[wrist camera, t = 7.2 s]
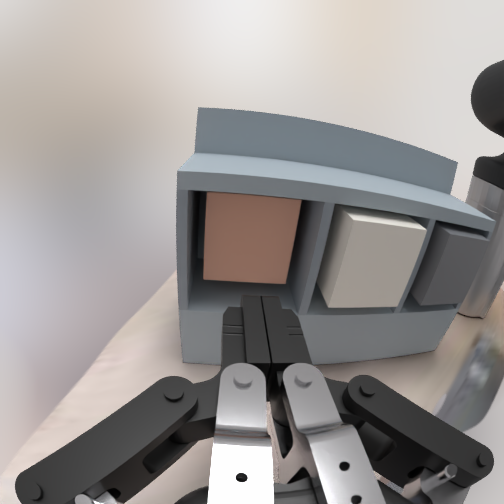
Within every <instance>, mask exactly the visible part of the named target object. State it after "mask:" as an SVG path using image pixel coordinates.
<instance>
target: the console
mask: <svg viewBox="0 0 504 504" xmlns="http://www.w3.org/2000/svg"><path fill="white" fill-rule="evenodd" d="M457 164H458V162H456V161H453V160H450V159H448V158H446V157H443V156H440V155H438V154H435V153H432V152H430V151H427V150H424V149H421V148H418V147H415V146H412V145H409V144H406V143H403V142H400V141H396V140H393V139H390V138H386V137H383V136H380V135H376V134H372V133H369V132H365V131H361V130H357V129H353V128H349V127H344V126H340V125H335V124H330V123H326V122H320V121H315V120H310V119H304V118H298V117H292V116H285V115H279V114H271V113H263V112H254V111H244V110H233V109H219V108H198V116H197V128H196V140H195V153H194V154H193V155H192V156H191V157H190V158H189V159H188V160H187V161H186V162H185V163H184V164H183V166H181V168H180V169H179V170H178V171H177V206H176V207H177V209H176V239H177V240H176V244H177V283H178V304H179V320H180V334H181V346H182V357H183V362H186V363H199V364H215V365H221V337H222V321H223V314H224V312H225V311H226V309H227V308H228V306H229V307H240V302H241V295H259V296H279V298H280V302H281V306H282V309H292V311H293V312H294V313H295V314H296V315H297V316H298V318H299V321H300V324H301V328H302V331H303V336H304V337H305V341H306V344H307V347H308V351H309V354H310V357H311V361H312V364H313V365H317V364H333V363H346V362H357V361H367V360H375V359H383V358H391V357H398V356H404V355H411V354H417V353H422V352H428V351H433V350H435V349H436V347H437V346H438V344H439V342H440V341H441V339H442V338H443V336H444V334H445V333H446V331H447V329H448V328H449V326H450V324H451V323H452V321H453V319H454V317H455V315H456V314H457V312H458V310H459V308H460V306H461V304H462V303H454V304H439V305H421V306H420V304H419V303H418V302H417V300H416V299H415V298H414V297H413V295H412V294H411V293H410V292H409V291H410V288H411V286H412V284H413V281H414V279H415V277H416V274H417V272H418V269H419V267H420V264H421V262H422V259H423V256H424V254H425V251H426V248H427V245H428V243H429V240H430V237H431V234H432V231H433V228H434V225H435V222H436V220H439V221H444V222H449V223H454V224H458V225H463V226H468V227H471V228H472V229H474V230H475V231H476V232H478V233H479V234H481V235H482V236H483V237H485V238H486V239H488V240H489V241H490V239H491V236H492V233H493V230H494V227H495V224H496V221H494V220H493V219H491V218H490V217H488V216H486V215H485V214H483V213H482V212H480V211H478V210H477V209H475V208H473V207H472V206H470V205H468V204H466V203H465V202H463V201H461V200H459V199H457V198H456V197H454V196H452V195H450V193H451V189H452V185H453V181H454V177H455V173H456V169H457ZM207 191H215V192H230V193H242V194H254V195H265V196H276V197H286V198H295V199H301V200H302V201H301V206H300V212H299V218H298V223H297V228H296V234H295V239H294V244H293V249H292V254H291V260H290V265H289V269H288V274H287V279H286V284H275V283H254V282H236V281H219V280H204V279H203V272H204V241H205V218H206V199H207ZM335 203H336V204H344V205H351V206H358V207H364V208H371V209H377V210H384V211H390V212H396V213H402V214H406V215H407V216H409V217H410V218H412V219H413V220H414V221H416V222H417V223H418V224H420V225H421V226H422V227H424V228H425V229H426V230H427V232H426V235H425V238H424V241H423V244H422V247H421V250H420V252H419V255H418V258H417V261H416V263H415V266H414V268H413V271H412V273H411V276H410V278H409V281H408V283H407V286H406V288H405V290H404V293H403V295H402V297H401V299H400V302H399V304H398V306H397V307H355V308H328V306H327V304H326V302H325V299H324V297H323V295H322V293H321V290H320V288H319V286H318V284H317V282H316V280H317V276H318V272H319V268H320V264H321V260H322V256H323V252H324V248H325V244H326V240H327V236H328V232H329V227H330V223H331V218H332V214H333V209H334V205H335Z"/></svg>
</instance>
